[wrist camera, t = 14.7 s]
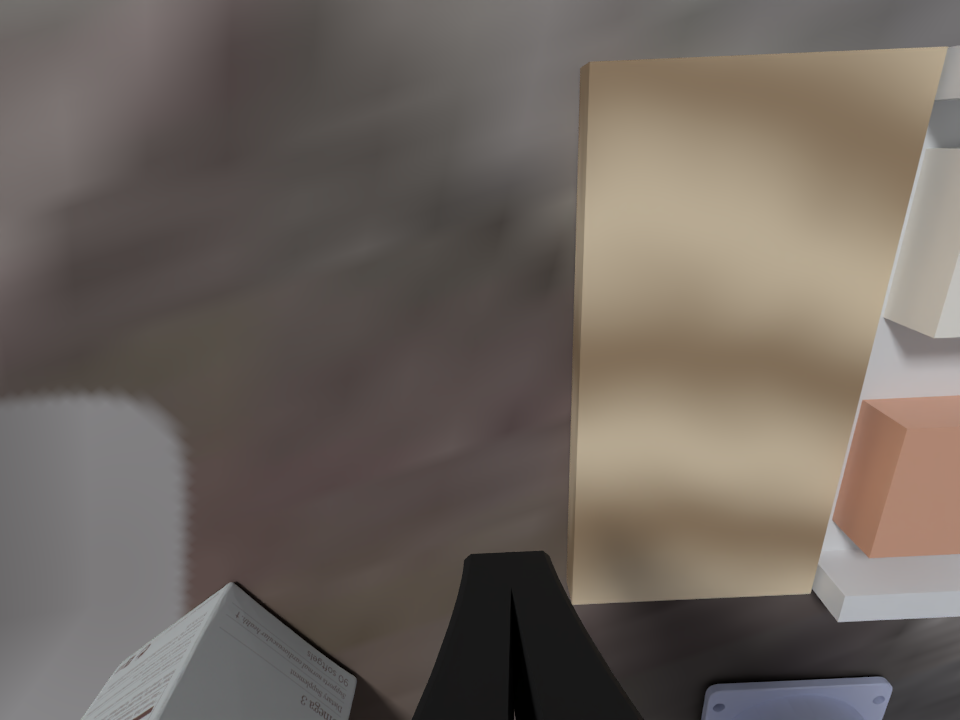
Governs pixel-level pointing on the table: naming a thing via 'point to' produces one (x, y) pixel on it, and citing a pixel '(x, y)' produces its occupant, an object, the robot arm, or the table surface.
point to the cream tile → (931, 251)
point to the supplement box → (226, 671)
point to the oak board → (728, 308)
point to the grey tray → (900, 374)
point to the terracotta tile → (903, 478)
